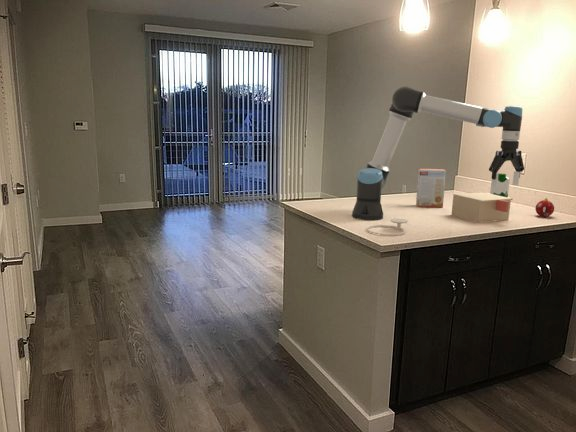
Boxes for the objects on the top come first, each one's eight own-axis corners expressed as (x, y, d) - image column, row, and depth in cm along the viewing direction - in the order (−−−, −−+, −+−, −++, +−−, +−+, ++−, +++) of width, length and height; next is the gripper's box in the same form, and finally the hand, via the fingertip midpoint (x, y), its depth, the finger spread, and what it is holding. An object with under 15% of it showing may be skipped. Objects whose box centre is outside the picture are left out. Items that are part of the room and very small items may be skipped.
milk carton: (489, 210, 257) (493, 174, 253) (487, 207, 266) (491, 172, 262) (507, 212, 255) (511, 175, 251) (504, 208, 264) (508, 173, 259)
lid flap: (490, 213, 220) (492, 202, 219) (452, 203, 243) (453, 194, 242) (521, 210, 228) (523, 200, 227) (481, 201, 251) (482, 192, 250)
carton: (478, 222, 228) (480, 202, 226) (451, 214, 244) (453, 195, 242) (508, 219, 236) (510, 199, 234) (480, 212, 252) (482, 193, 250)
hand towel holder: (358, 220, 208) (392, 215, 219) (357, 230, 209) (392, 225, 220) (384, 228, 194) (420, 223, 205) (384, 238, 195) (419, 233, 206)
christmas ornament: (553, 216, 247) (556, 197, 245) (552, 219, 240) (555, 199, 238) (535, 214, 252) (537, 195, 249) (533, 216, 244) (536, 197, 242)
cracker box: (440, 206, 267) (444, 169, 263) (443, 208, 262) (446, 170, 257) (415, 204, 269) (418, 168, 264) (417, 207, 263) (420, 169, 258)
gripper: (496, 141, 212) (491, 188, 216) (536, 140, 221) (530, 185, 226) (483, 140, 218) (478, 185, 223) (522, 139, 228) (517, 183, 233)
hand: (504, 185), depth 224 cm, fingers open, 13 cm apart
